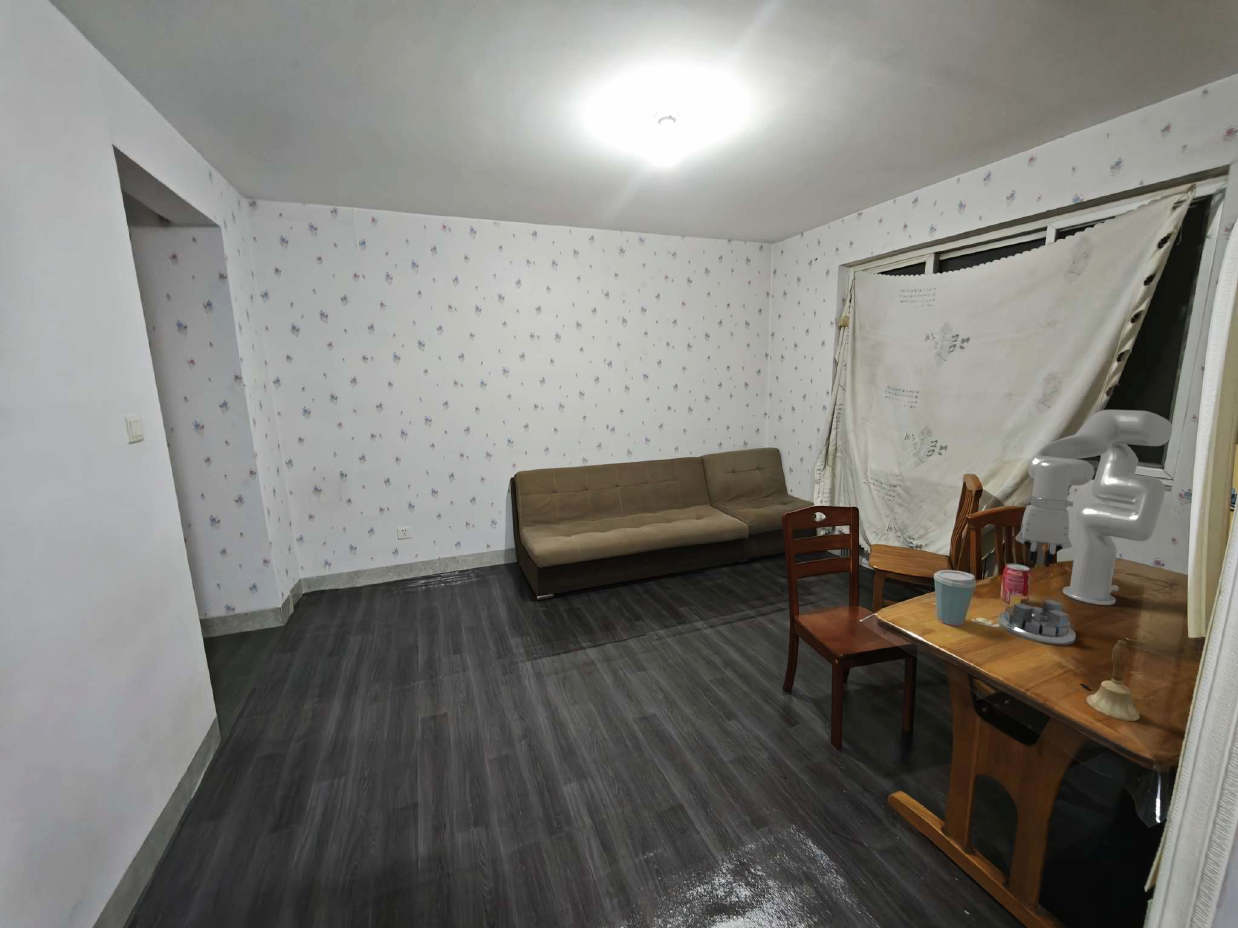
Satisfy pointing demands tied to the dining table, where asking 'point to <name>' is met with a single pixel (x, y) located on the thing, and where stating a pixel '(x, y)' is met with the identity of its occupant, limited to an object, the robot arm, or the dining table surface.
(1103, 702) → the hand bell
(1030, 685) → the dining table surface
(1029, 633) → the base
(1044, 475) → the robot arm
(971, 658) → the dining table surface
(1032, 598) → the dining table surface
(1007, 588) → the soda can
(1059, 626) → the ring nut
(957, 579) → the disposable coffee cup
